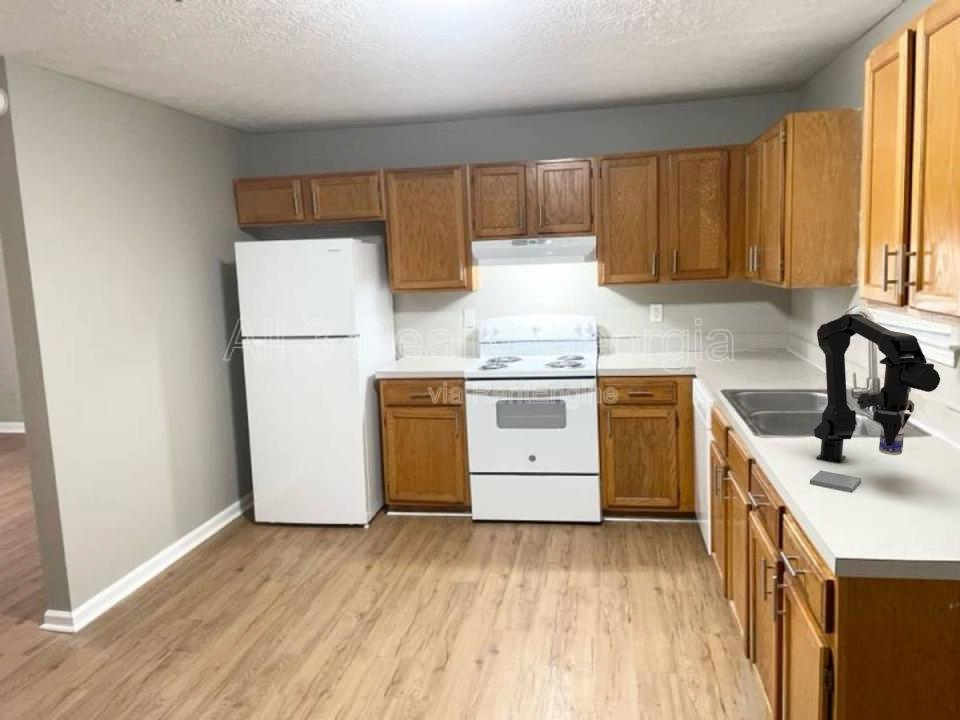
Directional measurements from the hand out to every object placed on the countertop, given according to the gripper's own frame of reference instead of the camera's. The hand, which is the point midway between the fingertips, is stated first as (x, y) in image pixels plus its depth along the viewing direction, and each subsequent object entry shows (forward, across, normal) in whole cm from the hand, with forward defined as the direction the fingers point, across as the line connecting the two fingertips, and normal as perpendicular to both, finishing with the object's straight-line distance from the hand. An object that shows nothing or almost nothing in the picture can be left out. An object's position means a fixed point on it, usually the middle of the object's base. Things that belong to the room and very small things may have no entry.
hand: (891, 443), depth 183 cm
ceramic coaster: (+11, +8, -11) cm, 17 cm away
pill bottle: (+3, 0, 0) cm, 3 cm away
